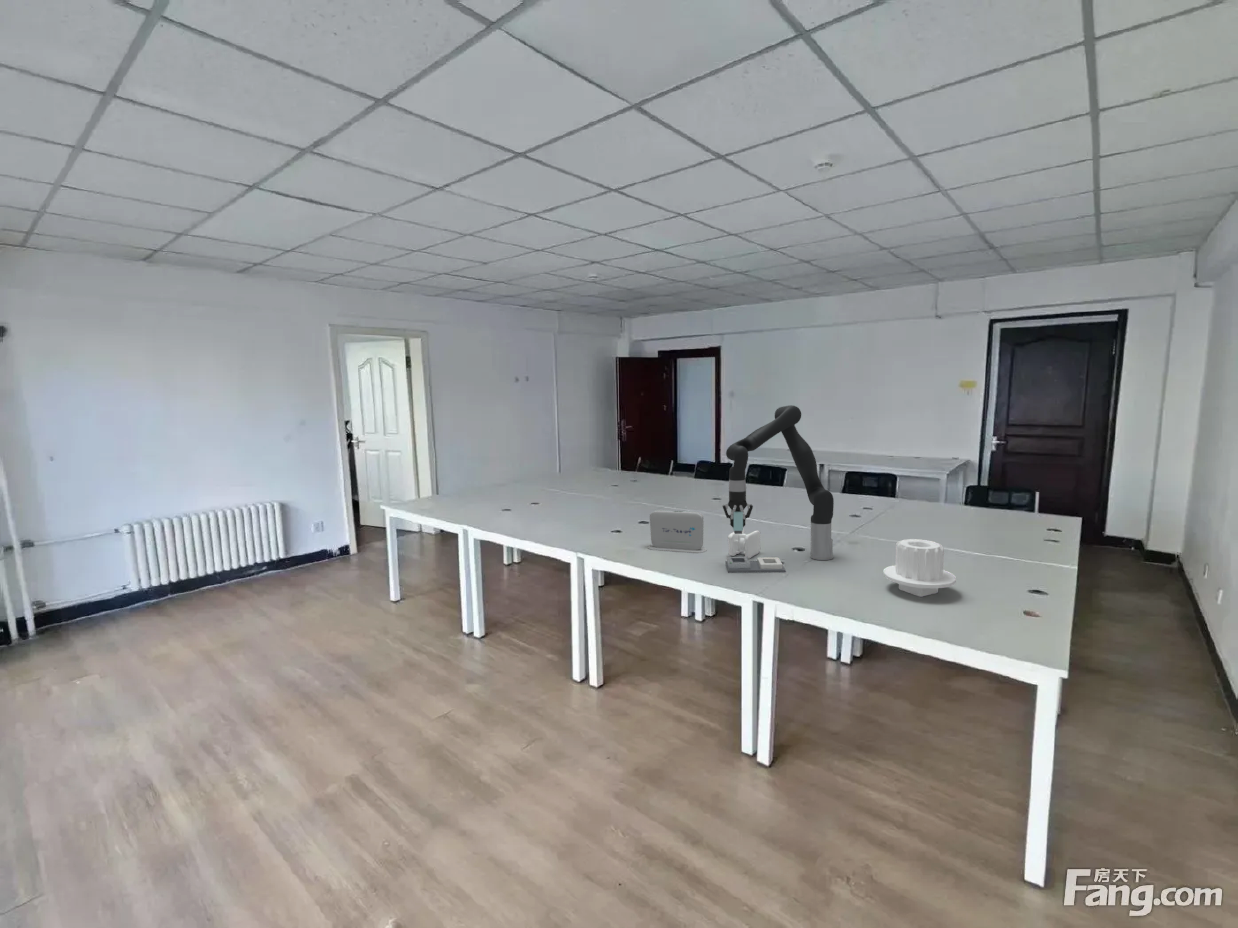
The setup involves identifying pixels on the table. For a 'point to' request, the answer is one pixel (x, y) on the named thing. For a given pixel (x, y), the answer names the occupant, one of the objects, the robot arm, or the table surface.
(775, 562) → the light grey square tray
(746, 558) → the block
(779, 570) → the panel base
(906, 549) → the flanged gear
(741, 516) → the plug
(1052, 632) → the table surface
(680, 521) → the wireless router
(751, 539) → the cable organizer
